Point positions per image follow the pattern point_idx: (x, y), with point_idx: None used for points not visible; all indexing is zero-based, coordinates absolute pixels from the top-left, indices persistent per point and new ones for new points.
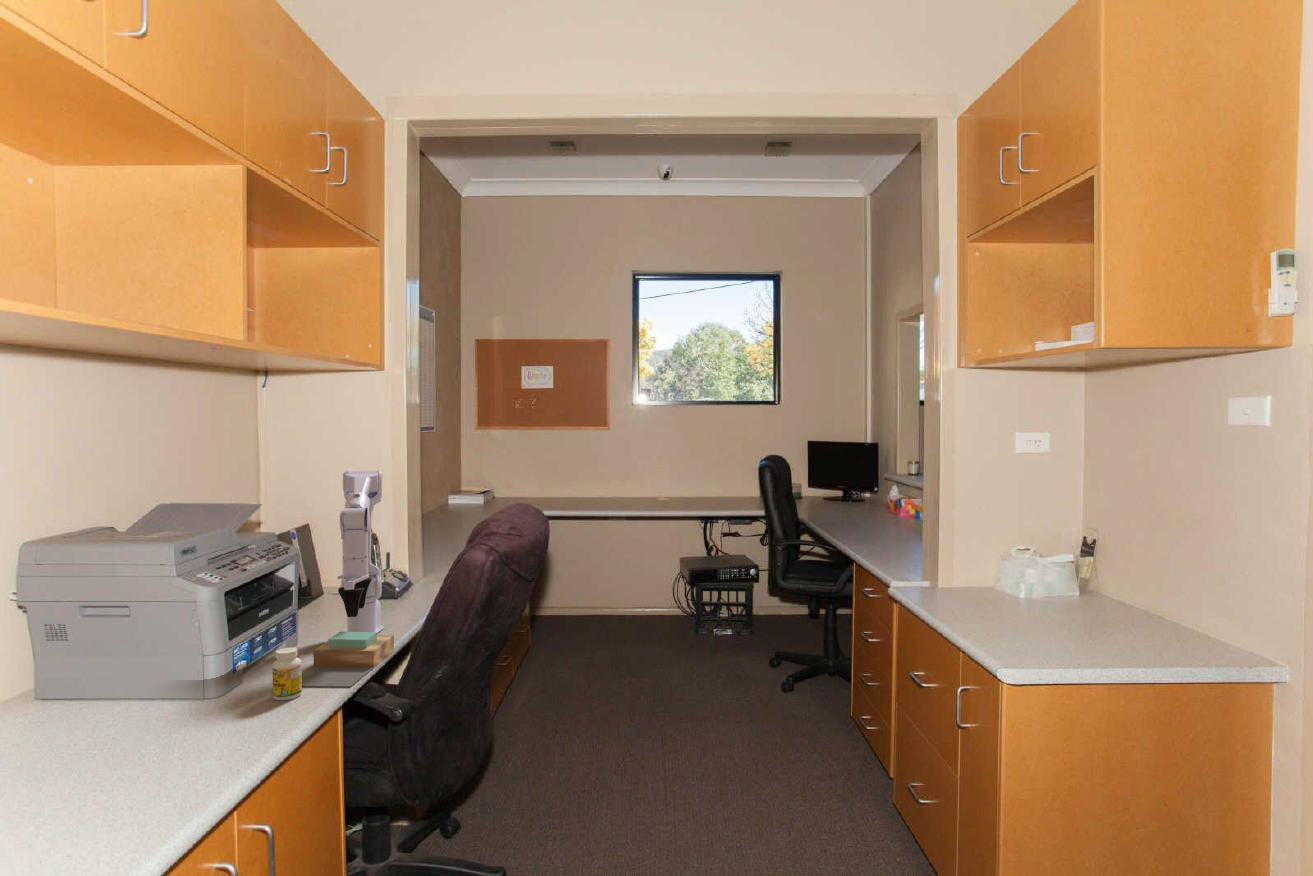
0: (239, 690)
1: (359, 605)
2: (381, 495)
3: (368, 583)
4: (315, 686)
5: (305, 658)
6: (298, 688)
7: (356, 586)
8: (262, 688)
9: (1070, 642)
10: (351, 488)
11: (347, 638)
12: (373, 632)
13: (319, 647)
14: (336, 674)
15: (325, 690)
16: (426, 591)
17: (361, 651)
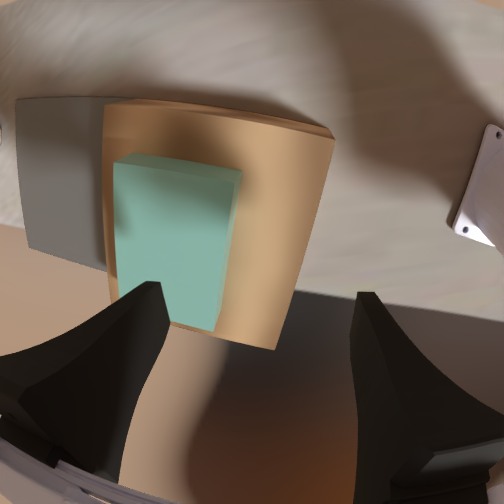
0: (14, 5)
1: (354, 332)
2: None
3: (353, 501)
4: (18, 172)
5: (250, 27)
6: None
7: (379, 446)
8: (16, 48)
9: None
10: None
11: (128, 240)
12: (210, 322)
13: (137, 113)
14: (75, 197)
15: (13, 199)
16: None
17: (108, 275)
